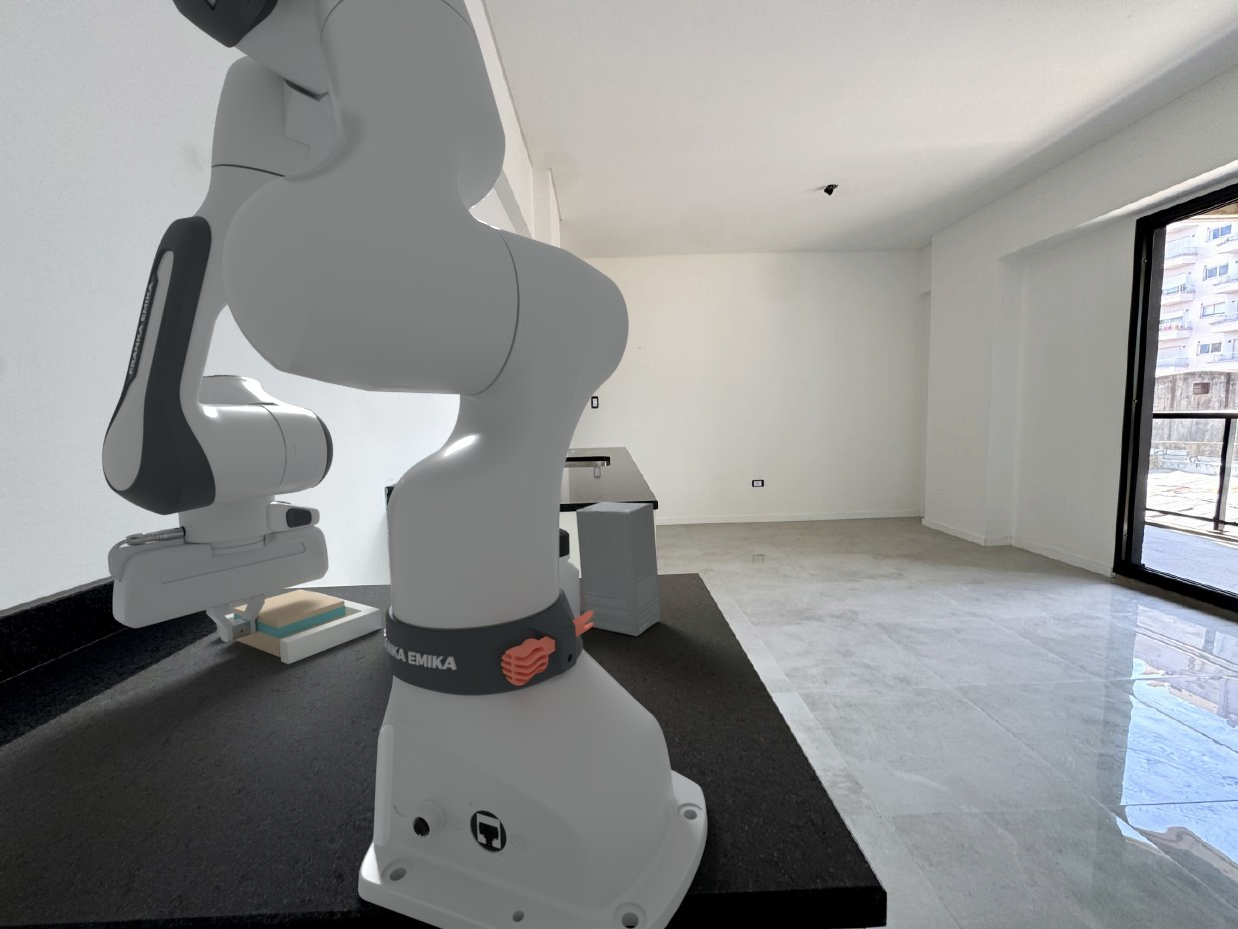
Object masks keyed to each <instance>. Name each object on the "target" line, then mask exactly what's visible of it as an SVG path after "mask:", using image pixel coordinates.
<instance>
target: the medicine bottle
mask: <svg viewBox="0 0 1238 929" xmlns="http://www.w3.org/2000/svg"><path fill="white" fill-rule="evenodd" d="M570 540H571V539H570V533H569V532H568V531H567V530H565V529H563V528H560V527H559V579H560V587H561V589H562V590H563V591H564V593H565V595H566V597H567V600H568V602H569V605H570V607H571V610H572V613H573V615H574V618H575V619H576V618H578V617H579V616H581V599H580V598H581V595H580V594H581V592H580V591H581V590H580V570H579V569H578V567H577V566H576V565H575V564H574V563H573V562H572V561H571V560H570V558H571V549H570V547H571V546H570Z"/></svg>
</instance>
